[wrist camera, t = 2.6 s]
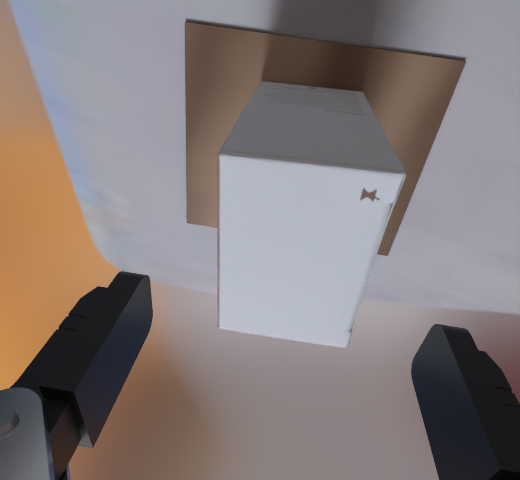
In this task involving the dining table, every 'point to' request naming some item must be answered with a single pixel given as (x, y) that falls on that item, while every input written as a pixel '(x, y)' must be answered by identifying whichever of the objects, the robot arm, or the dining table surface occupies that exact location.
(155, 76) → the dining table surface
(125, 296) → the robot arm
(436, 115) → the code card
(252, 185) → the small box
